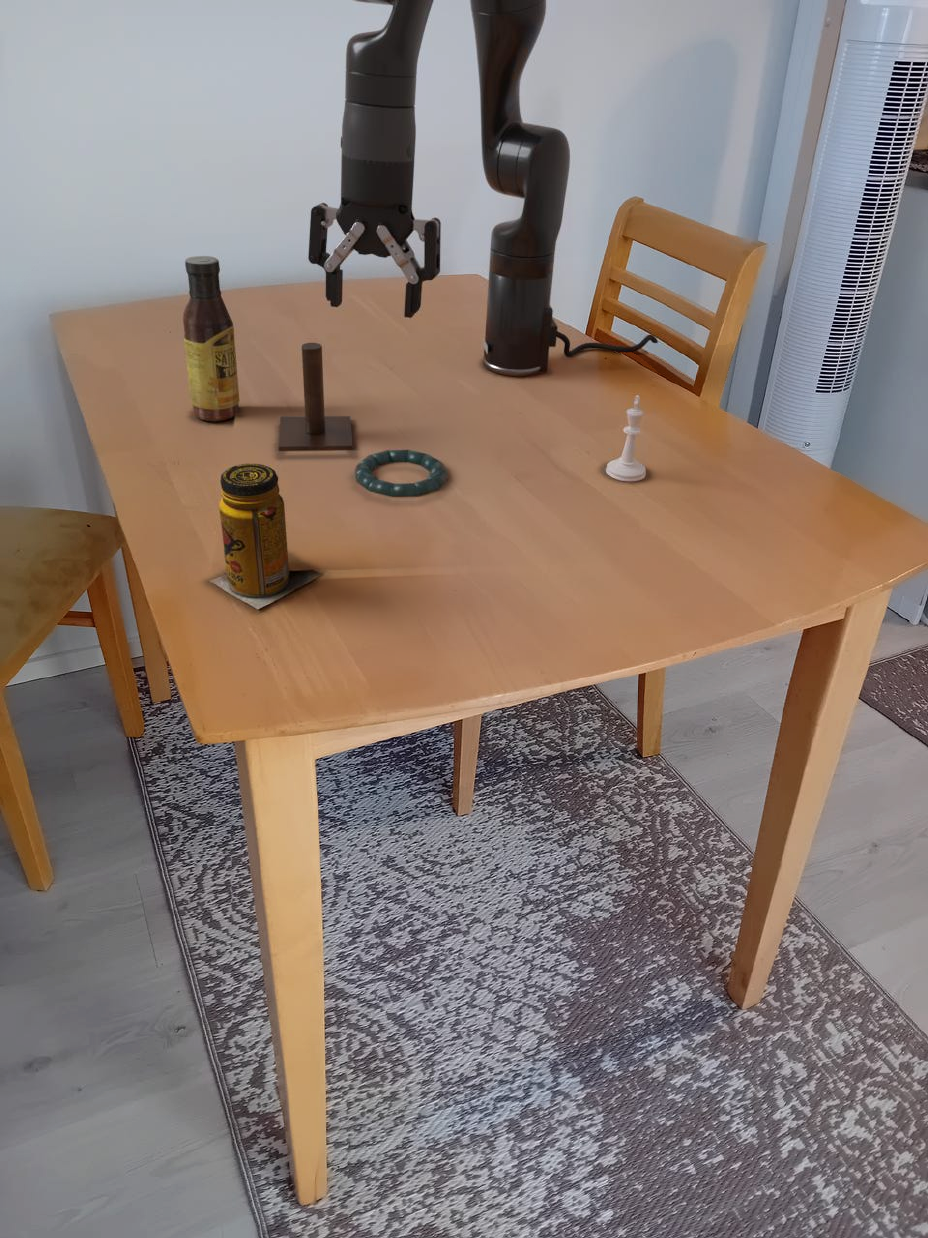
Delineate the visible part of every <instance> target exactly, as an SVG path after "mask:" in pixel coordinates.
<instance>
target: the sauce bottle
mask: <svg viewBox="0 0 928 1238" xmlns="http://www.w3.org/2000/svg"><path fill="white" fill-rule="evenodd" d="M184 265H185V271H186V274H187V280H188V288H189V290H188V295H189V296H190V297H189V300H188V302H187V304H186V305H185V308H184V311H183V315H182V325H183V341H184V351H185V359H186V369H187V370H186V371H187V379H188V388H189V398H190V403H191V405H192V413H193V415H194V417H196V418H197V419H198V420H202V421H208V422H221V421H225V420H230V419H232V418H234V417H236V414H237V413H236V412H237V411H239V403H240V391H239V378H238V366H237V364H238V363H237V352H236V342H235V329H234V323H233V320H232V318H231V316H230V313H229V310H228V309H227V307H226V303H225V302H224V299H223V297H222V291H221V285H220V284H221V283H220V272H221V267H220V260H219V259H218V258H216V257H214V256H209V255H198V256H197V255H196V256H190V257H187V258H185V260H184Z"/></svg>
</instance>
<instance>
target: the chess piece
mask: <svg viewBox="0 0 928 1238" xmlns="http://www.w3.org/2000/svg"><path fill="white" fill-rule="evenodd" d="M640 397H641V395H637V394H636V395H635V398H634V402H633V404H632V408H629V409H627V410H626V417H627V423H628V425H626V426H624V428H623V429H622V431H623V432H624V434H626V435H627V436H626V440H625V443H624V447H623V450H622V453H621V456H620V457H618V458H616V459H612V460H610V461H609V462H608V463H606V464H607V465H606V468H605V472H606V474H607V475H608V476H609V477H610V478H612V479H614V480H617V481H622V482H639V481H641V480H644V478H645V477H646V475H647V473H646V470H647V469H646V467H645V465H644V464H643V463H641V462H639V461H637V459H636V436H638V435H640V434H641V433H642V430H641V428H640V427H638V426H639V424H640V422H641V420H642V419H643V417H644V411H643V410H642V409H640V408H639V404H640V402H641V399H640Z"/></svg>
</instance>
